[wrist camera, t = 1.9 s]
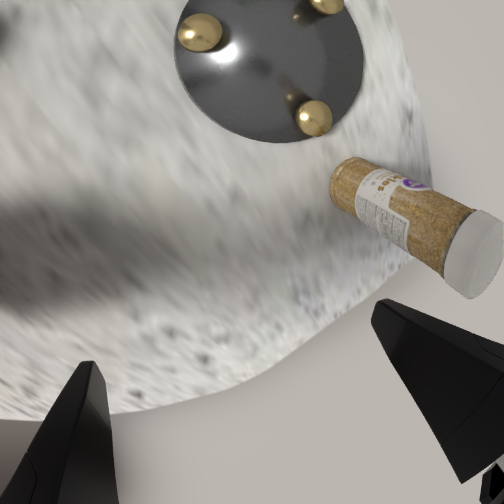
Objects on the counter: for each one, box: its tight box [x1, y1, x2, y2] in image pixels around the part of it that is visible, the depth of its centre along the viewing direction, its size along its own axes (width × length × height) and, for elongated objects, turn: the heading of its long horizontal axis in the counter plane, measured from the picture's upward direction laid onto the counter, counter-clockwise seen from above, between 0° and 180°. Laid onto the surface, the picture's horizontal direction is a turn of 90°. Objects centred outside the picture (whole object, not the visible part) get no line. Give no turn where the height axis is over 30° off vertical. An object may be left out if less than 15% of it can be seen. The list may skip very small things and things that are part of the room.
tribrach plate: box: [174, 0, 363, 143], centre depth 15 cm, size 13×13×2 cm
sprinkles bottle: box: [330, 158, 504, 299], centre depth 17 cm, size 5×5×14 cm
